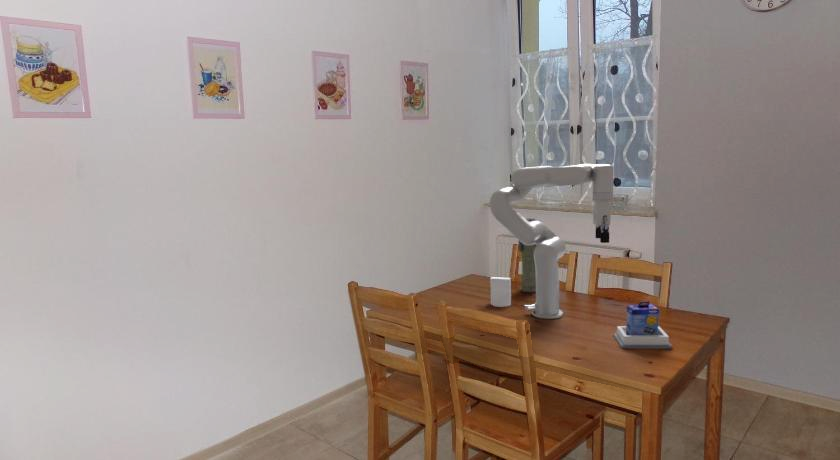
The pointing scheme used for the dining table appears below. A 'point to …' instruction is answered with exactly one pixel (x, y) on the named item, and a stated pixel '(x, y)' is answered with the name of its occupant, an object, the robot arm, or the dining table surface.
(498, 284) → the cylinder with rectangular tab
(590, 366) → the dining table surface
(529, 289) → the thermos
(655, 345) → the socket stand
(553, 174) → the robot arm
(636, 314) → the ink cartridge box
